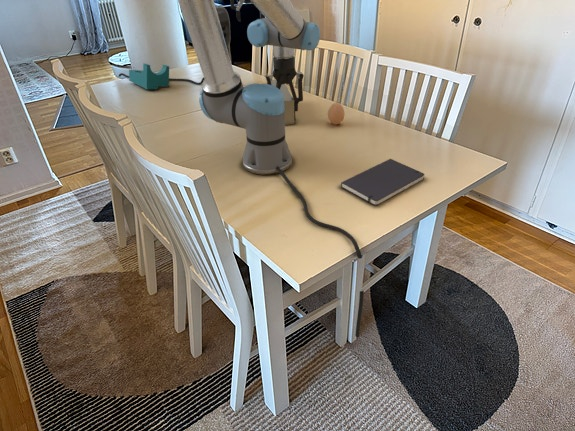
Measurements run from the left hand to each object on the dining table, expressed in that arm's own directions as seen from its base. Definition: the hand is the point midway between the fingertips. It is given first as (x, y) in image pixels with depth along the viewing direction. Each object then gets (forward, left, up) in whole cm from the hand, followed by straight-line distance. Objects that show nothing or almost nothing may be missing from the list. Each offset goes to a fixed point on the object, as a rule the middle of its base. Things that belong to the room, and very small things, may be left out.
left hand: (250, 20), depth 157 cm
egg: (+44, -1, -30) cm, 54 cm away
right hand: (+28, -11, -30) cm, 42 cm away
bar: (+21, -5, -30) cm, 37 cm away
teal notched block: (-52, -20, -30) cm, 63 cm away
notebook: (+80, -25, -30) cm, 89 cm away
